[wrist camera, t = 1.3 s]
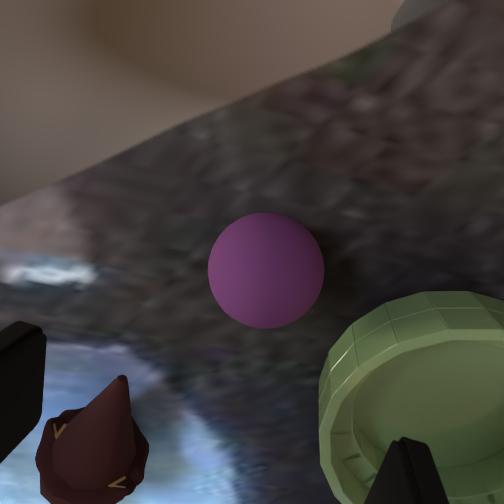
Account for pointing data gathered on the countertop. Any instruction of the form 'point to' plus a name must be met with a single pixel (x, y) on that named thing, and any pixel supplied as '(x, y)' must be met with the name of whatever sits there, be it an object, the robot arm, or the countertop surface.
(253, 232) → the ball
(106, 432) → the brown gnome figurine
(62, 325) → the countertop surface
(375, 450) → the bowl
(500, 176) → the countertop surface
